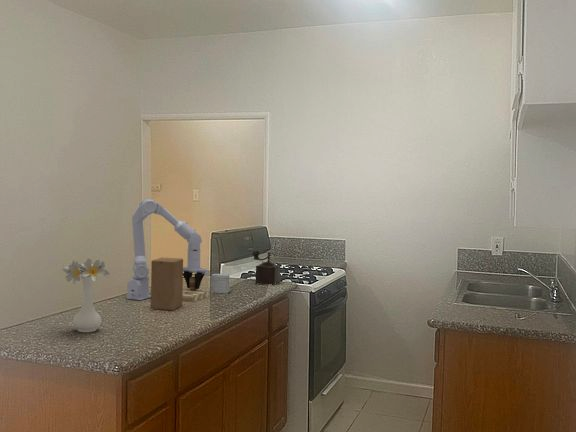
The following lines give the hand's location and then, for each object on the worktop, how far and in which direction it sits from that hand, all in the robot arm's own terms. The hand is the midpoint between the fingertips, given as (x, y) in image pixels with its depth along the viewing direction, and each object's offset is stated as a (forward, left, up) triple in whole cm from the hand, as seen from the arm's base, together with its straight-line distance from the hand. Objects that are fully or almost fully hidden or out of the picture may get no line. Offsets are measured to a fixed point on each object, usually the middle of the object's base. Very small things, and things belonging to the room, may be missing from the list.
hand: (193, 288), depth 261 cm
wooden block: (-26, -3, -4) cm, 26 cm away
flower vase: (-70, +1, -4) cm, 70 cm away
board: (-5, -1, -3) cm, 6 cm away
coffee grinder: (+46, -16, -4) cm, 49 cm away
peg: (0, 0, -1) cm, 1 cm away
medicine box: (+13, -7, -4) cm, 15 cm away
